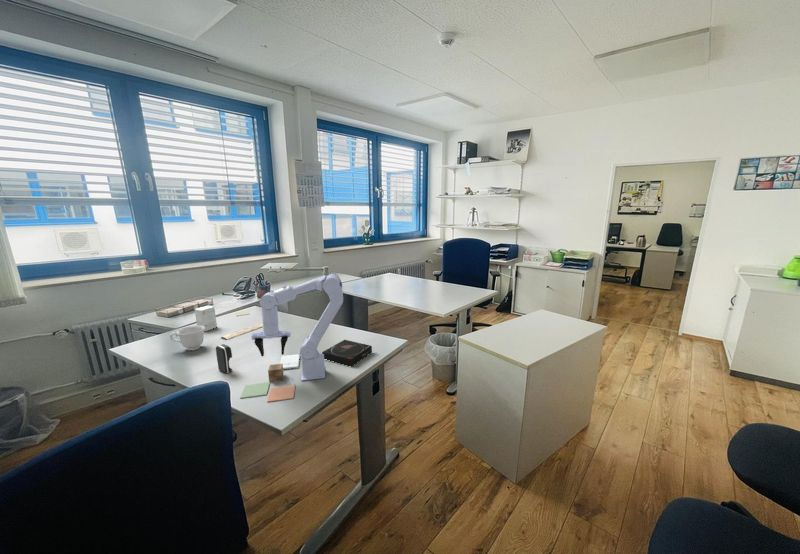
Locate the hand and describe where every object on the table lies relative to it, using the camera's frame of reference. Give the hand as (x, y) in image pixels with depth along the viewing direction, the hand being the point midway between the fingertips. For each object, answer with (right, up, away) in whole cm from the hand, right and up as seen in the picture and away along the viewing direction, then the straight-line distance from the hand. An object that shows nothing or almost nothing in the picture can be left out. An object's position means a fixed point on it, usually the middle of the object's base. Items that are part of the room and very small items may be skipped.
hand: (272, 354), depth 130 cm
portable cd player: (+27, -7, +22) cm, 35 cm away
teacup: (-54, -5, +31) cm, 62 cm away
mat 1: (-4, -12, -7) cm, 14 cm away
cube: (+1, -10, +2) cm, 11 cm away
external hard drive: (+2, -8, +15) cm, 18 cm away
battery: (-24, -9, +9) cm, 27 cm away
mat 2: (+7, -13, -9) cm, 17 cm away
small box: (-62, +1, +59) cm, 85 cm away
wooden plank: (-38, -1, +54) cm, 66 cm away
